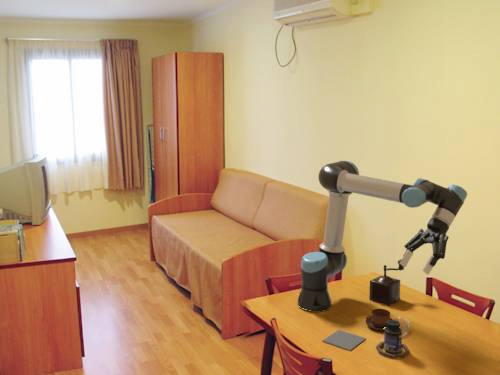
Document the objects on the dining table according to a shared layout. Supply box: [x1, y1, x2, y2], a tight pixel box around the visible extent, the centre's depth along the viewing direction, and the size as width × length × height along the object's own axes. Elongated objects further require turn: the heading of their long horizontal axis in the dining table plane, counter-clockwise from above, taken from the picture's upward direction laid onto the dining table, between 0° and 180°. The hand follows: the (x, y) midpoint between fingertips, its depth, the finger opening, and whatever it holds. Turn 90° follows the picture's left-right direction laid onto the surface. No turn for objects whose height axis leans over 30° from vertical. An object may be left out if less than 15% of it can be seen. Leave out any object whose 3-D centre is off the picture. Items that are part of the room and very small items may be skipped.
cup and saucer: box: [365, 308, 394, 331], centre depth 204 cm, size 12×12×6 cm
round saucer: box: [375, 340, 410, 359], centre depth 184 cm, size 11×11×1 cm
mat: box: [322, 329, 367, 352], centre depth 193 cm, size 12×12×1 cm
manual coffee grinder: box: [369, 259, 405, 306], centre depth 232 cm, size 16×11×18 cm
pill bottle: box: [383, 319, 403, 354], centre depth 183 cm, size 6×6×11 cm
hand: (413, 269), depth 190 cm, fingers open, 13 cm apart
